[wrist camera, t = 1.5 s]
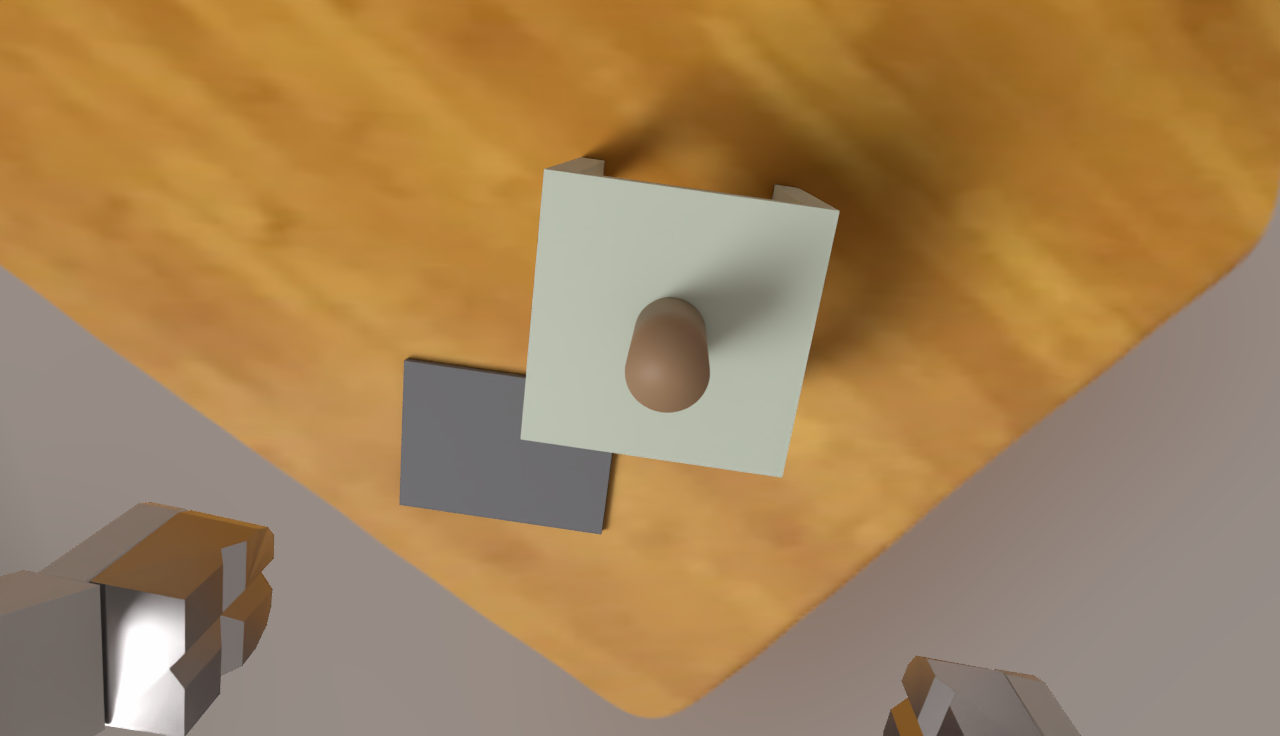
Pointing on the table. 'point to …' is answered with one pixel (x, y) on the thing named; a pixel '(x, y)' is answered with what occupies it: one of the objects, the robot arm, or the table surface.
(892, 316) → the table surface
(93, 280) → the table surface
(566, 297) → the cover
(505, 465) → the mat
